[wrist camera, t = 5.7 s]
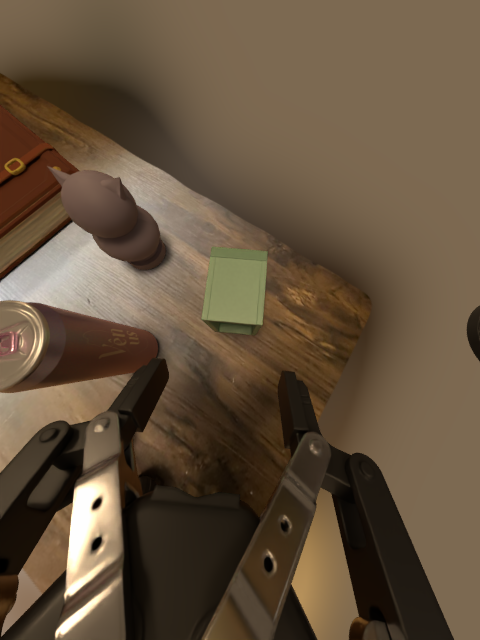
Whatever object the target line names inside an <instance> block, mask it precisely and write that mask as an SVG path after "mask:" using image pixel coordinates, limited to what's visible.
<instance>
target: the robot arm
mask: <svg viewBox="0 0 480 640" xmlns="http://www.w3.org/2000/svg"><path fill="white" fill-rule="evenodd" d="M168 379H169V372H168V368H167V364H166V360H165V359H161V358H152V359H151V360H150V362H149V363H148V365H143V366H142V367H140V368H139V369H138V370H137V371H136V372H135V373H134V374H133V376H132V377H131V379H130V380H129V381H128V383H127V385H126V386H125V387H124V388H123V390H122V391H121V393H120V394H119V395H118V397H117V398H116V400H115V401H114V402H113V404H112V405H111V407H110V408H109V409H108V410H107V411H106V412H103V413H101V414H99V415H97V416H96V417H95V418H93V419H92V420H91V421H87V422H83V423H78V424H74V425H69V424H68V423H67V422H66V421H56V422H53V423H50V424H48V425H46V426H45V427H43V428H42V429H41V430H39V431H38V432H37V433H36V434H35V435H34V436H33V437H32V438H31V440H30V441H29V442H28V443H27V444H26V445H25V446H24V447H23V448H22V450H21V451H20V452H19V453H18V454H17V455H16V456H15V457H14V458H13V460H12V461H11V462H10V463H9V464H8V465H7V466H6V467H5V468H4V470H3V471H2V472H1V473H0V640H317V638H316V636H315V633H314V631H313V629H312V627H311V625H310V623H309V621H308V619H307V617H306V615H305V613H304V610H303V608H302V606H301V604H300V602H299V600H298V597H297V596H296V593H295V591H294V589H293V587H292V585H291V583H292V580H293V577H294V574H295V571H296V568H297V565H298V562H299V559H300V556H301V553H302V550H303V547H304V544H305V541H306V538H307V535H308V532H309V529H310V526H311V523H312V520H313V517H314V514H315V510H316V499H317V496H318V493H319V490H320V487H321V488H323V489H325V490H327V491H329V492H330V493H331V494H332V498H333V502H334V507H335V511H336V515H337V520H338V524H339V529H340V534H341V538H342V542H343V547H344V551H345V555H346V560H347V564H348V568H349V573H350V578H351V582H352V586H353V591H354V595H355V600H356V604H357V608H358V613H359V617H357V618H355V619H354V620H353V622H352V624H351V627H350V632H349V640H454V638H453V636H452V634H451V632H450V629H449V627H448V625H447V622H446V620H445V618H444V615H443V613H442V611H441V608H440V606H439V604H438V602H437V599H436V597H435V595H434V592H433V590H432V588H431V585H430V583H429V581H428V579H427V576H426V574H425V572H424V569H423V567H422V565H421V562H420V560H419V558H418V555H417V553H416V551H415V549H414V546H413V544H412V541H411V539H410V537H409V535H408V532H407V530H406V528H405V525H404V523H403V521H402V518H401V516H400V514H399V512H398V510H397V507H396V505H395V502H394V500H393V498H392V495H391V493H390V491H389V488H388V486H387V484H386V481H385V479H384V477H383V475H382V472H381V470H380V469H379V467H378V466H377V465H376V463H375V462H374V461H373V460H372V459H371V458H369V457H368V456H366V455H364V454H362V453H354V454H352V455H349V454H347V453H345V452H343V451H341V450H338V449H336V448H335V447H333V446H331V445H330V444H329V443H328V442H327V441H326V440H325V439H324V438H323V436H322V434H321V433H320V430H319V427H318V423H317V420H316V416H315V413H314V409H313V406H312V404H311V399H310V396H309V392H308V389H307V387H306V386H305V384H304V383H303V381H298V380H297V379H296V375H295V372H292V371H282V373H281V377H280V380H279V383H278V399H279V407H280V415H281V423H282V430H283V438H284V446H285V448H288V449H290V451H291V458H290V460H289V462H288V464H287V466H286V468H285V470H284V472H283V474H282V476H281V478H280V479H279V481H278V483H277V485H276V487H275V489H274V491H273V493H272V495H271V497H270V498H269V500H268V502H267V504H266V506H265V508H264V510H263V512H262V514H261V516H260V518H259V517H258V515H257V514H256V513H255V511H254V510H253V509H252V508H251V507H250V506H249V505H248V504H246V503H245V502H243V501H242V500H240V494H231V493H222V492H218V493H214V494H210V495H206V496H202V497H193V496H191V495H190V494H188V493H186V492H184V491H182V490H180V489H178V488H176V487H169V486H160V485H155V488H154V491H151V492H148V493H146V494H144V495H143V494H142V487H141V483H140V480H139V477H138V473H137V467H136V459H135V452H134V444H133V436H134V434H135V432H143V431H144V429H145V427H146V424H147V422H148V420H149V418H150V416H151V414H152V412H153V410H154V408H155V406H156V404H157V402H158V400H159V398H160V396H161V394H162V392H163V390H164V388H165V386H166V384H167V382H168ZM82 468H83V472H82V475H81V476H80V477H78V475H79V473H80V472H81V470H82ZM77 477H78V478H77ZM76 478H77V480H76ZM75 480H76V483H75V488H74V498H73V509H72V520H71V532H70V543H69V554H68V565H67V569H66V570H65V571H64V572H63V574H62V575H61V576H60V577H59V578H58V579H57V580H56V581H55V582H54V583H53V584H52V585H51V586H50V587H49V588H48V589H47V590H46V591H45V592H44V593H43V594H42V595H41V596H40V597H39V598H38V600H36V601H35V603H34V604H33V605H32V606H31V607H30V608H29V609H28V610H27V611H26V612H25V613H24V614H23V615H22V616H21V617H20V618H19V619H18V620H17V621H16V622H15V623H14V624H13V625H12V626H11V627H10V628H9V629H8V630H7V631H6V632H5V634H4V635H3V636H2V637H1V632H2V627H3V623H4V620H5V618H6V615H7V614H8V613H9V612H10V610H11V609H12V607H13V605H14V603H15V601H16V596H17V594H16V593H17V590H18V584H19V580H18V574H19V572H20V571H21V569H22V568H23V566H24V564H25V563H26V561H27V559H28V558H29V556H30V554H31V553H32V551H33V549H34V548H35V546H36V544H37V543H38V541H39V539H40V538H41V536H42V535H43V533H44V531H45V530H46V528H47V526H48V525H49V523H50V521H51V520H52V518H53V516H54V515H55V513H56V511H57V510H58V508H59V506H60V505H61V503H62V501H63V500H64V498H65V496H66V495H67V493H68V492H69V490H70V488H71V487H72V485H73V483H74V482H75Z"/></svg>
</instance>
